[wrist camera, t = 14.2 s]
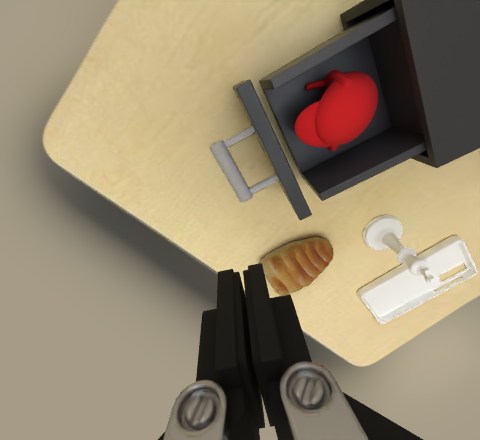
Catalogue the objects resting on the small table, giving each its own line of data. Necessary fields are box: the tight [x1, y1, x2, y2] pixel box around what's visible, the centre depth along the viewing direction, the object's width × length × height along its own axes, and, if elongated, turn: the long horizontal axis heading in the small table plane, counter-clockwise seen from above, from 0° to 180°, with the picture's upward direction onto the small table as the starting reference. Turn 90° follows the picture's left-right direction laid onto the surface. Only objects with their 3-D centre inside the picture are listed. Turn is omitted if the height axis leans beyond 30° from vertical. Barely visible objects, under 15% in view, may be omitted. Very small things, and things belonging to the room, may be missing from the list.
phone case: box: [357, 235, 478, 324], centre depth 40 cm, size 7×1×15 cm
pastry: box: [259, 237, 333, 296], centre depth 36 cm, size 9×7×4 cm
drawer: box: [209, 4, 427, 220], centre depth 26 cm, size 18×12×8 cm
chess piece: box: [363, 215, 435, 283], centre depth 32 cm, size 5×5×10 cm
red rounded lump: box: [295, 70, 378, 151], centre depth 25 cm, size 8×6×6 cm
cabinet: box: [340, 0, 480, 168], centre depth 23 cm, size 15×14×10 cm
